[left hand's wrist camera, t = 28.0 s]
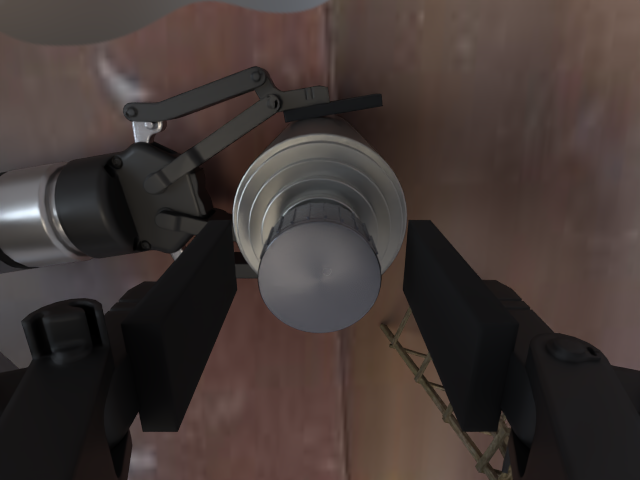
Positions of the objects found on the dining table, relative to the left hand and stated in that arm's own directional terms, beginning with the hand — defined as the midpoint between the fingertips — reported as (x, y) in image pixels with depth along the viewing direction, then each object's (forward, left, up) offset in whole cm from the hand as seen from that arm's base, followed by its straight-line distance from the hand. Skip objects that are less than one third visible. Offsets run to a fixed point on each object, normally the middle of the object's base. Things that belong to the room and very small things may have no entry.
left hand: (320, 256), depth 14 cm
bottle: (0, 0, -22) cm, 22 cm away
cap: (0, 0, +2) cm, 2 cm away
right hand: (-4, -2, -16) cm, 16 cm away
